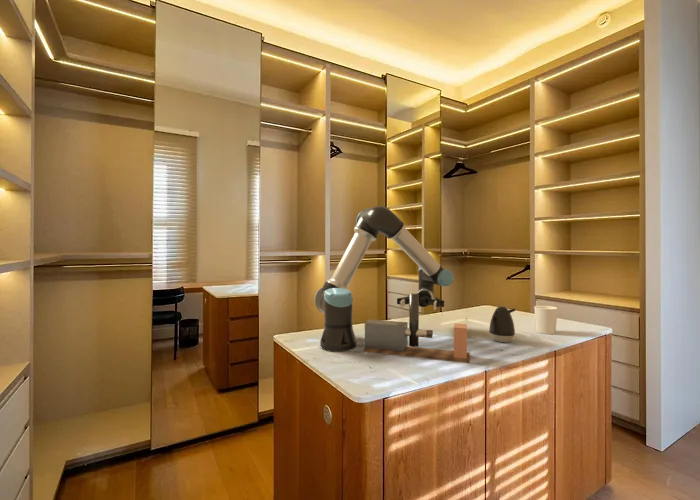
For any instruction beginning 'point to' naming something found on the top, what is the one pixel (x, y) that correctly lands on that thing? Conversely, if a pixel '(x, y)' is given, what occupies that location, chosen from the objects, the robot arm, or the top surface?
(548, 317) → the candle holder
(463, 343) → the socket
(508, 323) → the pump dispenser
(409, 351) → the base board
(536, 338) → the top surface
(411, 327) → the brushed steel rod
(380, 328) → the box on wooden plank
